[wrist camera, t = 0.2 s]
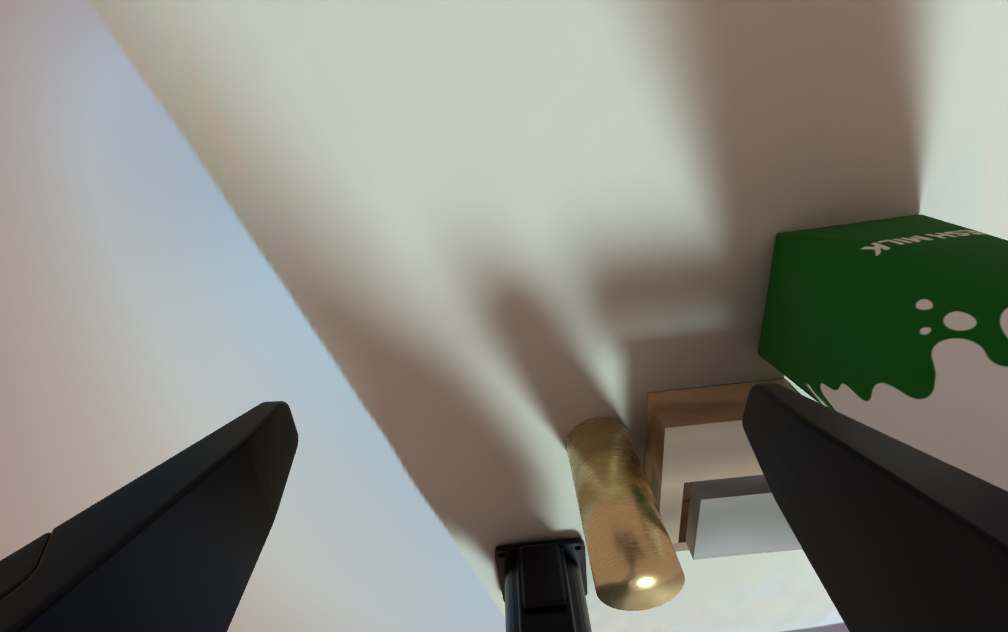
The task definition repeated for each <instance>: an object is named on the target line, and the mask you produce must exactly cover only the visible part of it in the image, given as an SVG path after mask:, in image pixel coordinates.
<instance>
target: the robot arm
mask: <svg viewBox="0 0 1008 632" xmlns="http://www.w3.org/2000/svg"><path fill="white" fill-rule="evenodd" d="M742 425H743V429H744V431H745V434H746V436H747V438H748V441H749V443H750V445H751V447H752V450H753V452H754V454H755V456H756V459H757V461H758V463H759V466H760V468H761V470H762V472H763V475H764V477H765V479H766V482H767V484H768V486H769V488H770V490H771V492H772V495H773V497H774V499H775V501H776V503H777V504H778V506H779V508H780V510H781V512H782V514H783V515H784V517H785V519H786V521H787V523H788V524H789V526H790V528H791V530H792V531H793V533H794V535H795V537H796V538H797V540H798V542H799V544H800V545H801V547H802V549H803V551H804V552H805V554H806V556H807V558H808V559H809V561H810V563H811V565H812V566H813V568H814V570H815V572H816V573H817V575H818V577H819V579H820V581H821V582H822V584H823V586H824V588H825V589H826V591H827V593H828V595H829V596H830V598H831V600H832V602H833V603H834V605H835V607H836V609H837V610H838V612H839V614H840V616H841V617H842V619H843V621H844V623H845V624H846V626H847V628H848V630H849V631H850V632H1008V491H1006V490H1004V489H1002V488H1000V487H997V486H995V485H993V484H991V483H989V482H987V481H985V480H982V479H980V478H978V477H976V476H974V475H972V474H970V473H967V472H965V471H963V470H961V469H959V468H957V467H955V466H952V465H950V464H948V463H946V462H944V461H942V460H940V459H937V458H935V457H933V456H931V455H929V454H927V453H925V452H923V451H920V450H918V449H916V448H914V447H912V446H910V445H908V444H905V443H903V442H901V441H899V440H897V439H895V438H893V437H890V436H888V435H886V434H884V433H882V432H880V431H878V430H876V429H873V428H871V427H869V426H867V425H865V424H863V423H861V422H858V421H856V420H854V419H852V418H850V417H848V416H846V415H843V414H841V413H839V412H837V411H835V410H833V409H831V408H829V407H826V406H824V405H822V404H820V403H818V402H816V401H814V400H811V399H809V398H807V397H805V396H803V395H801V394H799V393H796V392H794V391H792V390H790V389H788V388H786V387H784V386H782V385H779V384H777V383H756V384H754V385H752V386H751V388H750V390H749V393H748V397H747V401H746V404H745V408H744V412H743V416H742ZM297 446H298V433H297V430H296V426H295V423H294V420H293V417H292V414H291V411H290V408H289V405H288V404H287V403H286V402H283V401H275V402H264V403H261V404H259V405H258V406H256V407H254V408H253V409H251V410H249V411H248V412H246V413H245V414H243V415H241V416H239V417H238V418H236V419H234V420H233V421H231V422H229V423H228V424H226V425H225V426H223V427H221V428H220V429H218V430H216V431H215V432H213V433H211V434H210V435H208V436H206V437H205V438H203V439H202V440H200V441H198V442H196V443H195V444H193V445H191V446H190V447H188V448H186V449H185V450H183V451H182V452H180V453H178V454H177V455H175V456H173V457H172V458H170V459H168V460H167V461H165V462H163V463H162V464H160V465H158V466H157V467H155V468H153V469H152V470H150V471H149V472H147V473H145V474H143V475H142V476H140V477H139V478H137V479H135V480H134V481H132V482H130V483H129V484H127V485H125V486H124V487H122V488H120V489H119V490H117V491H115V492H114V493H112V494H111V495H109V496H107V497H105V498H104V499H102V500H101V501H99V502H97V503H95V504H94V505H92V506H90V507H89V508H87V509H86V510H84V511H82V512H81V513H79V514H77V515H76V516H74V517H72V518H71V519H69V520H67V521H66V522H64V523H62V524H61V525H59V526H57V527H56V528H54V529H53V531H52V533H46V534H44V535H42V536H41V537H39V538H37V539H36V540H34V541H32V542H31V543H29V544H27V545H26V546H24V547H23V548H21V549H19V550H18V551H16V552H14V553H13V554H11V555H9V556H8V557H6V558H4V559H2V560H1V561H0V632H227V630H228V628H229V625H230V623H231V621H232V618H233V616H234V613H235V611H236V609H237V607H238V604H239V602H240V600H241V597H242V595H243V593H244V590H245V588H246V585H247V583H248V581H249V578H250V576H251V574H252V572H253V569H254V567H255V565H256V562H257V560H258V558H259V555H260V553H261V551H262V548H263V546H264V544H265V541H266V539H267V537H268V534H269V532H270V529H271V527H272V525H273V522H274V519H275V517H276V514H277V511H278V508H279V505H280V501H281V498H282V495H283V492H284V488H285V485H286V482H287V478H288V475H289V472H290V469H291V465H292V462H293V459H294V455H295V453H296V449H297ZM495 560H496V565H497V570H498V575H499V580H500V585H501V590H502V594H503V599H504V602H505V614H506V632H592V631H591V625H590V619H589V614H588V608H587V603H586V597H585V596H586V595H587V577H586V558H585V545H584V541H583V540H582V539H580V538H576V539H565V540H555V541H545V542H535V543H524V544H514V545H504V546H498V547H496V548H495Z"/></svg>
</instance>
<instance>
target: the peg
mask: <svg viewBox="0 0 1008 632" xmlns="http://www.w3.org/2000/svg"><path fill="white" fill-rule="evenodd" d="M566 446H567V452H568V457H569V462H570V466H571V471H572V476H573V481H574V486H575V491H576V496H577V501H578V506H579V511H580V516H581V521H582V525H583V530H584V535H585V540H586V545H587V550H588V555H589V560H590V565H591V570H592V575H593V580H594V584H595V589H596V593H597V596H598V598H599V599H600V600H601V601H602V602H603V603H605V604H606V605H608V606H610V607H612V608H616V609H620V610H627V611H638V610H646V609H650V608H654V607H657V606H660V605H662V604H664V603H666V602H668V601H670V600H671V599H672V598H674V597H675V596H676V595H677V594H678V593H679V592H680V591H681V589H682V587H683V585H684V581H685V577H684V573H683V571H682V568H681V565H680V563H679V560H678V558H677V555H676V553H675V550H674V548H673V545H672V542H671V540H670V537H669V535H668V532H667V530H666V527H665V524H664V522H663V519H662V517H661V514H660V512H659V509H658V506H657V504H656V501H655V499H654V496H653V494H652V491H651V488H650V486H649V483H648V481H647V478H646V476H645V473H644V471H643V468H642V465H641V463H640V460H639V458H638V455H637V453H636V450H635V447H634V445H633V442H632V440H631V437H630V435H629V432H628V430H627V429H626V427H625V426H624V425H623V424H621V423H620V422H618V421H616V420H613V419H610V418H594V419H590V420H587V421H584V422H582V423H581V424H579V425H578V426H576V427H575V428H574V429H573V430H572V431H571V433H570V434H569V436H568V438H567V443H566Z"/></svg>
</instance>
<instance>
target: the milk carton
mask: <svg viewBox="0 0 1008 632" xmlns="http://www.w3.org/2000/svg"><path fill="white" fill-rule="evenodd" d="M758 354H759V355H760V356H761V357H763V358H764V359H765V360H766V361H768V362H769V363H770V364H771V365H773V366H774V367H775V368H776V369H778V370H779V371H780V372H781V373H783V374H784V375H785V376H786V377H788V378H789V379H790V380H791V381H793V382H794V383H795V384H796V385H798V386H799V387H800V388H801V389H803V390H804V391H805V392H806V393H808V394H809V395H810V396H811V397H813V398H814V399H815V400H816V401H818V402H819V403H820V404H822V405H824V406H826V407H829V408H831V409H833V410H835V411H837V412H839V413H841V414H843V415H846V416H848V417H850V418H852V419H854V420H856V421H858V422H861V423H863V424H865V425H867V426H869V427H871V428H873V429H876V430H878V431H880V432H882V433H884V434H886V435H888V436H890V437H893V438H895V439H897V440H899V441H901V442H903V443H905V444H908V445H910V446H912V447H914V448H916V449H918V450H920V451H923V452H925V453H927V454H929V455H931V456H933V457H935V458H937V459H940V460H942V461H944V462H946V463H948V464H950V465H952V466H955V467H957V468H959V469H961V470H963V471H965V472H967V473H970V474H972V475H974V476H976V477H978V478H980V479H982V480H985V481H987V482H989V483H991V484H993V485H995V486H997V487H1000V488H1002V489H1004V490H1006V491H1008V241H1007V240H1004V239H1001V238H997V237H994V236H991V235H988V234H985V233H981V232H978V231H975V230H972V229H968V228H965V227H961V226H958V225H954V224H951V223H948V222H944V221H941V220H938V219H934V218H931V217H928V216H925V215H914V216H906V217H899V218H891V219H884V220H876V221H869V222H861V223H854V224H846V225H838V226H831V227H823V228H816V229H808V230H801V231H793V232H786V233H778V234H777V236H776V242H775V248H774V255H773V261H772V267H771V274H770V280H769V287H768V293H767V299H766V306H765V312H764V318H763V325H762V331H761V338H760V344H759V350H758Z"/></svg>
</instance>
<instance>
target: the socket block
mask: <svg viewBox="0 0 1008 632" xmlns="http://www.w3.org/2000/svg"><path fill="white" fill-rule="evenodd" d="M756 383H777V384H779V385H782V386H784V387H786V388H788V389H790V390H792V391H794V392H796V393H799V392H798V391H797V390H796V389H795V388H794V387H793V386H792V385H791V384H790V383H789V382H788V381H787V380H786V379H785V378H784V379H775V380H766V381H757V382H747V383H738V384H729V385H719V386H710V387H701V388H692V389H682V390H673V391H664V392H655V393H648V400H647V425H646V450H645V476H646V478H647V481H648V483H649V486H650V488H651V491H652V494H653V496H654V499H655V501H656V504H657V506H658V509H659V512H660V514H661V517H662V519H663V522H664V524H665V527H666V530H667V532H668V535H669V537H670V540H671V542H672V545H673V548H674V550H675V551H684V550H690V552H691V555H692V557H693V560H694V559H704V558H715V557H725V556H736V555H746V554H757V553H767V552H778V551H788V550H799V549H802V547H801V545H800V544H799V542H798V540H797V538H796V537H795V535H794V533H793V531H792V530H791V528H790V526H789V524H788V523H787V521H786V519H785V517H784V515H783V514H782V512H781V510H780V508H779V506H778V504H777V503H776V501H775V499H774V497H773V495H772V492H771V490H770V488H769V486H768V484H767V482H766V479H765V477H764V475H763V472H762V470H761V468H760V466H759V463H758V461H757V459H756V456H755V454H754V452H753V450H752V447H751V445H750V443H749V441H748V438H747V436H746V434H745V431H744V429H743V425H742V416H743V412H744V408H745V404H746V401H747V397H748V393H749V390H750V388H751V386H752V385H754V384H756ZM799 394H800V393H799ZM686 482H692V487H691V496H690V501H682V499H683V489H684V483H686Z"/></svg>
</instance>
